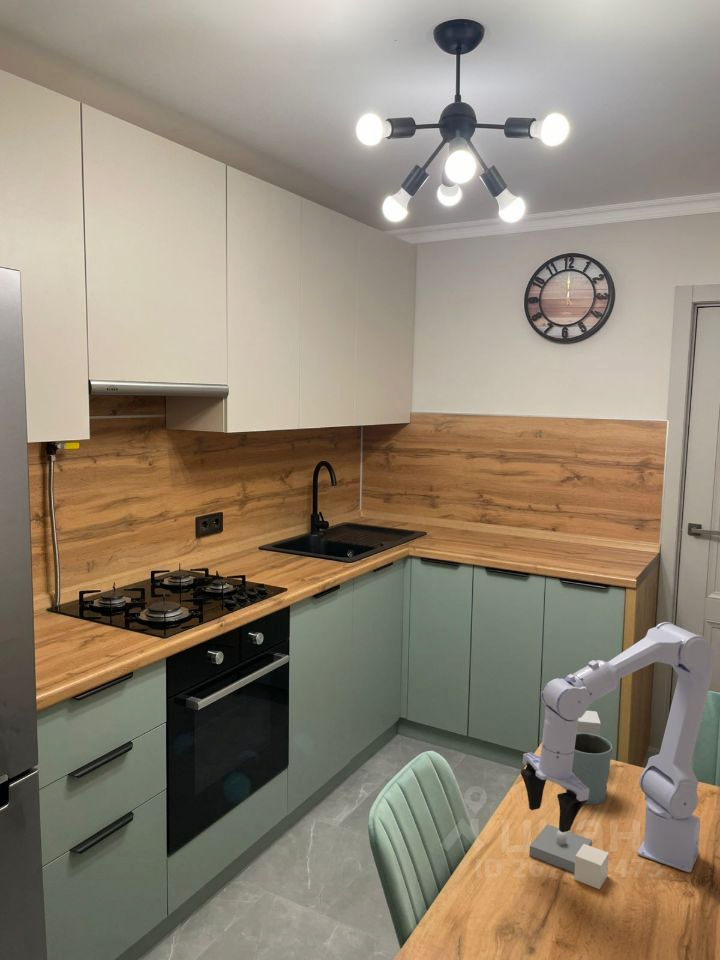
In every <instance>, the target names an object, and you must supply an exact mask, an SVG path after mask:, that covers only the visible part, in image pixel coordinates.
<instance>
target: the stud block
mask: <svg viewBox="0 0 720 960" xmlns="http://www.w3.org/2000/svg"><path fill="white" fill-rule="evenodd" d="M583 844H586V845H589V846H592V847H593V839H590V838H587V837H584V836H582V835H579V834H576V833H574V832H570V831H566V832H561V831H559V827H557V826H554V825H551V824H549V823H546V825H545V826H544V827H543V829H541V831H540V832H539V834H538V835H537V836H536V837H535V838H534V840H533V841H532V842H531V843H530V845H529V857H532V858H535V859H536V860H539V859H540V861H542V862H544V863H548V864H550V865H552V866H556V868H557V867H558V868H560V869H563V870H564V871H568V872H571V873H573V874H574V871H575V856H576V854H577V853H578V851H579V850H580V848H581V847H582V845H583Z"/></svg>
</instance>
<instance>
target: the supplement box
mask: <svg viewBox="0 0 720 960" xmlns="http://www.w3.org/2000/svg"><path fill="white" fill-rule="evenodd" d="M601 726H602V723H601V719H600V718H599V714H598V711H595V710H586V712H585V714H584V715H583V716H582V717H581V718H578V725H577V733H591V734H595V735H598V736H601Z"/></svg>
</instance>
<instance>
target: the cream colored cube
mask: <svg viewBox="0 0 720 960" xmlns="http://www.w3.org/2000/svg"><path fill="white" fill-rule="evenodd" d="M609 853H610V852H608V851H605V850H602V849H599V848H597V847H594V846H593V845H592V846H589V845H586V844H583V845H582V847H581V848H580V850H579V851H578V853H577V854H576V856H575V871H574V873H573V874H574V875H573V880H575V881H577V882H580V883H581V884H584V885H588V886H590V887H593V888H596V889H598V890H600V889H601V888H602V886H604V883H605V881H606V880H607V877H608V875H609V873H608V871H609V857H610V856H609V855H610V854H609Z"/></svg>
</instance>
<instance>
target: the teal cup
mask: <svg viewBox="0 0 720 960" xmlns="http://www.w3.org/2000/svg"><path fill="white" fill-rule="evenodd" d="M612 753H613V744H612V743H611V742H610V740H608V738H605V737H603V736H601V735H600V736H598V735H595V734H591V733H576V741H575V750H574V758H573V766H572V773H573V774H574V775H575V776H576V777H577V778H578V779H579V780H580V781H581V782H582V784H584V785H585V786H586V787H587V788H589V789H590V790H589V798H588V800H587V802H586V803H585V804H584V805H591V806H592V805H598V804H602V803H604V802H605V800H606V798H607V790H608V785H607V784H608V782H609V781H608V780H609V776H610V775H609V774H610V765H611V759H612ZM564 790H565V793H566V792H567V790H566V789H564Z"/></svg>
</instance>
